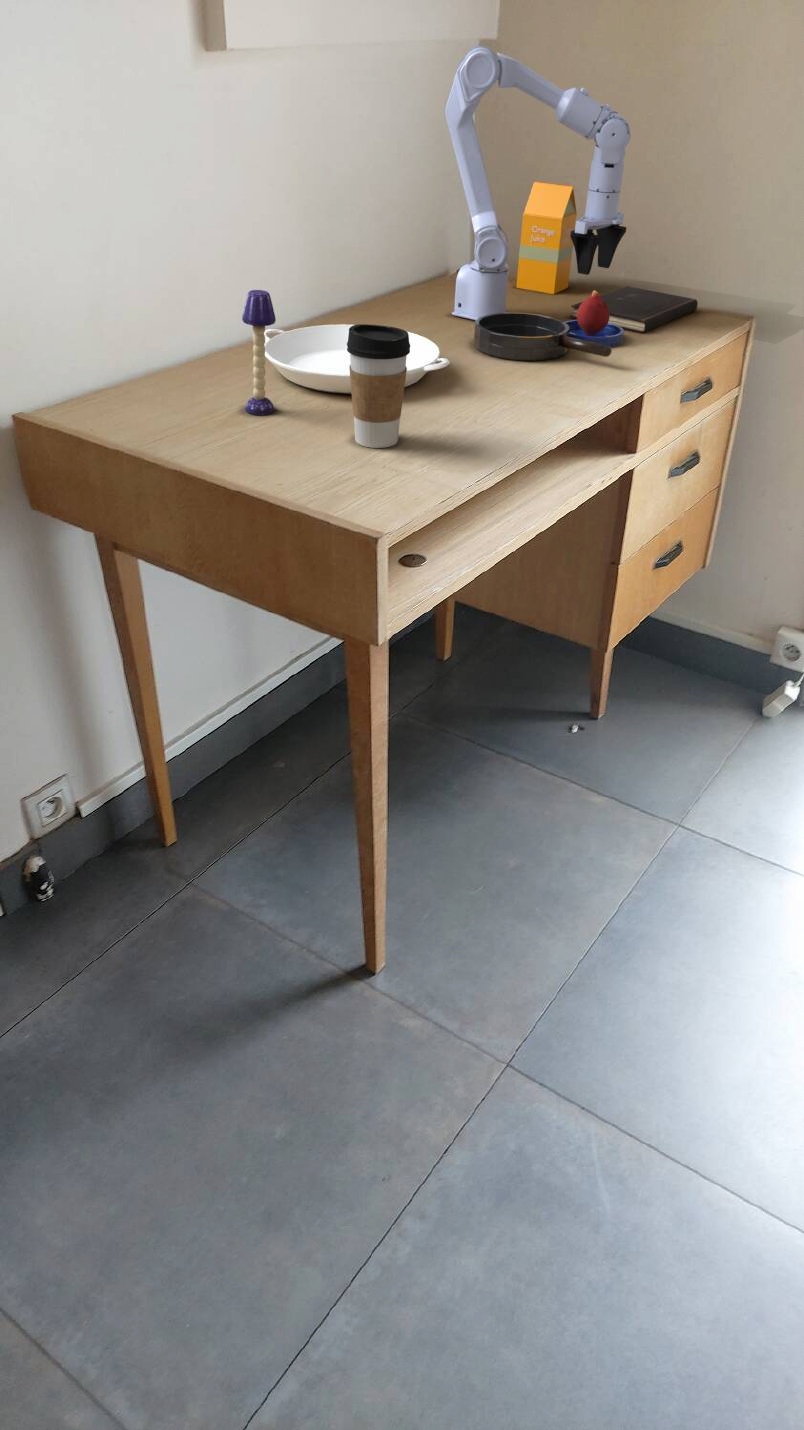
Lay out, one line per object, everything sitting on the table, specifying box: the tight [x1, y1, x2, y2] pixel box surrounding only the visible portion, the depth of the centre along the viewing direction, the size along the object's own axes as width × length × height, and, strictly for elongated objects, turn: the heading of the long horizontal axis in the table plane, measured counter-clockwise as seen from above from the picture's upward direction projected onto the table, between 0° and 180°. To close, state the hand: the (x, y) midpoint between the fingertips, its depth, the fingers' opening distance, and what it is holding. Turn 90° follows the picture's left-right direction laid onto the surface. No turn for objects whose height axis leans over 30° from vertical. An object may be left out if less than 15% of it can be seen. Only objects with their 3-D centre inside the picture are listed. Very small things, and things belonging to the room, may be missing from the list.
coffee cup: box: [347, 323, 410, 449], centre depth 141 cm, size 8×8×15 cm
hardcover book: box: [569, 285, 699, 334], centre depth 207 cm, size 16×23×2 cm
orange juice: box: [516, 180, 578, 295], centre depth 218 cm, size 8×9×20 cm
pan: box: [264, 323, 451, 395], centre depth 169 cm, size 34×28×4 cm
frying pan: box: [473, 311, 570, 362], centre depth 184 cm, size 16×16×4 cm
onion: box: [576, 290, 609, 336], centre depth 190 cm, size 6×6×8 cm
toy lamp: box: [241, 289, 276, 416], centre depth 149 cm, size 5×5×17 cm
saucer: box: [564, 319, 625, 348], centre depth 192 cm, size 12×12×2 cm
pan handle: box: [559, 336, 613, 358], centre depth 178 cm, size 10×2×2 cm, turn 52°
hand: (593, 270), depth 196 cm, fingers open, 7 cm apart
